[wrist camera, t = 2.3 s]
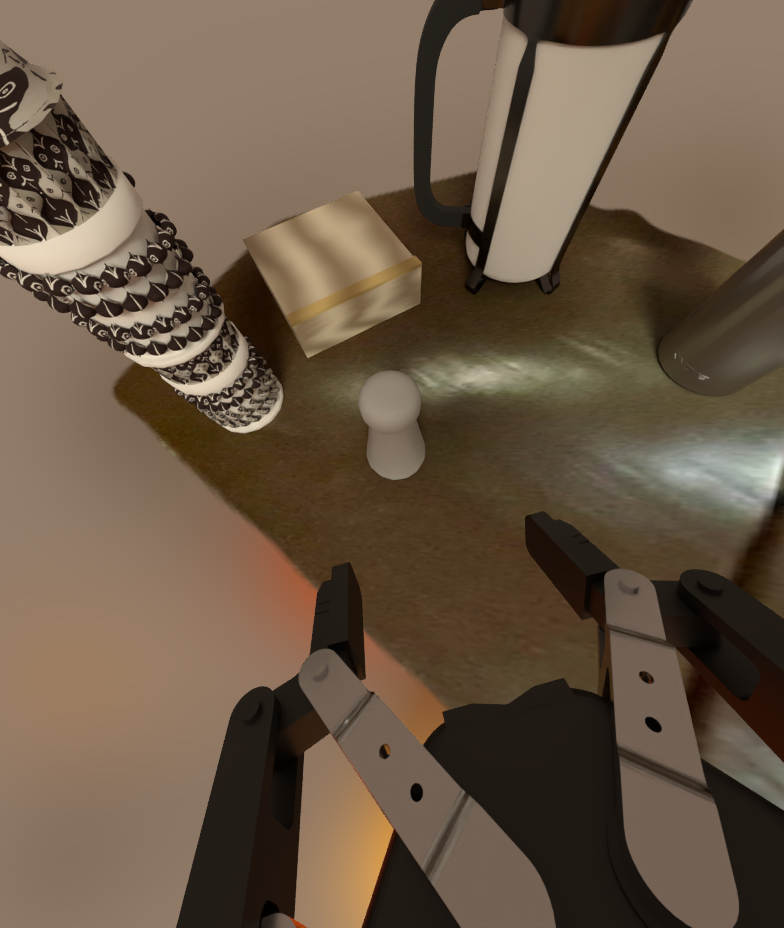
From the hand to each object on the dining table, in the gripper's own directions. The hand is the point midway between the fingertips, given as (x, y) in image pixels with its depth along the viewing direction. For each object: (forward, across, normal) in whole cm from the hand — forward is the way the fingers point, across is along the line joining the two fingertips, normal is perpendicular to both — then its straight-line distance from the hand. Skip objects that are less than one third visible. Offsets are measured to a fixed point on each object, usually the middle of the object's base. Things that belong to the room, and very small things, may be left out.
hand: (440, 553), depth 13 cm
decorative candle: (+27, +15, -4) cm, 31 cm away
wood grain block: (+36, +2, -14) cm, 39 cm away
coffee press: (+35, -20, -12) cm, 42 cm away
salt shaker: (+19, 0, +4) cm, 19 cm away
